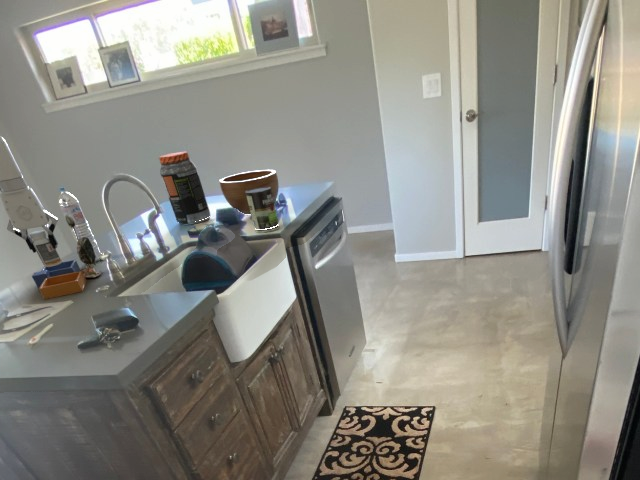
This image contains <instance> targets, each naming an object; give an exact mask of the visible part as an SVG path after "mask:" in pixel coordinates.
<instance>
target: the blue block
mask: <svg viewBox="0 0 640 480" xmlns="http://www.w3.org/2000/svg"><path fill="white" fill-rule="evenodd" d="M49 277H51V275H50V273H49V271H48V270H45V271H41V270H40V271H36V272H33V274H32V275H31V278H32V279H33V281H34V283H35V285H36V287H37V289H38V290H39V288H40V286H41V285H42V283H43V281H44V280H45V278H49Z"/></svg>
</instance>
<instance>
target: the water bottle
mask: <svg viewBox="0 0 640 480" xmlns="http://www.w3.org/2000/svg"><path fill="white" fill-rule="evenodd" d="M58 190H59V192H60V194H59V195H58V198H57V204H58V207H59V208H60V210H61V212H62V214H63V217H64V219H65V220H66V217H65V216H66V215H69V216H71V217H72V218H73V220H74V222H75V226H74V228H75V231H76V233H77V236H78V239H80V237H87V238H88V239H89V240H90V242H91V244H92V246H93V249H94V252H95V255H96V258H95V263H97V262H100V261H99V257H100V254H102V252H101V250H100V247H99V245H98V243H97V241H96V238H95V236H94V233H93V232H92V230H91V227H90V225H89V223H88V221H87V219H86V216H85V214H84V212H83V210H82V208H81V205H80V203H79V200H78V199H77V197H76V196H74V195H73V194H71V193H70V192H68V191H66V187H64V186H61V187H58ZM68 228H69V230H70V232H71V234H72V237H73V238H74V241H75V243H76V244H77V241H78V239H77V236H76V233H75V231H74V228H73V227H72V229H71V227H70V226H69V225H68Z"/></svg>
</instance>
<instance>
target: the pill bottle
mask: <svg viewBox="0 0 640 480" xmlns="http://www.w3.org/2000/svg"><path fill="white" fill-rule="evenodd" d="M28 236H29V237H30V238H32V240H33V246H34V248H35V250H36V254H37V255H38V257H39V259H40V261H41V263H42V265H43V267H44V266H45V267H52V266H56V265H59V264H61V263H62V262H63V261H62V258H61V256H60V254H59V252H58V250H57V248H56V249H54V248H53V246H52V244H51V242H50V240H49V238H48V235H47V232H46V231H45V229H43V230H42V229H41V230H36V231H32V232H30V233H28Z"/></svg>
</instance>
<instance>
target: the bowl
mask: <svg viewBox="0 0 640 480" xmlns="http://www.w3.org/2000/svg"><path fill="white" fill-rule="evenodd" d="M219 185H220V186H219V187H220V190H221V192H222V195H223V197H224V199H225V200H226V202H227V203H228V205H230V206H231V208H232V209H234V208H236V209H238V210H239V211H240V212H242V213H244V214H251V212H250V208H249V204H248V200H247V196H246V193H245V192H246V191H247V190H250V189H254V188H259V187H271V189H272V195H273V200H274V204H275V203H276V201H277V198H278V196H279V187H280V186H279V178H278V174H277V171H276V170H274V169H261V170H260V169H258V170H252V171H245V172H240V173H236V174H232V175H228V176H225V177H223V178H221V179H219ZM240 212H239V213H240ZM242 213H241V214H242ZM244 214H243V215H244Z"/></svg>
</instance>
